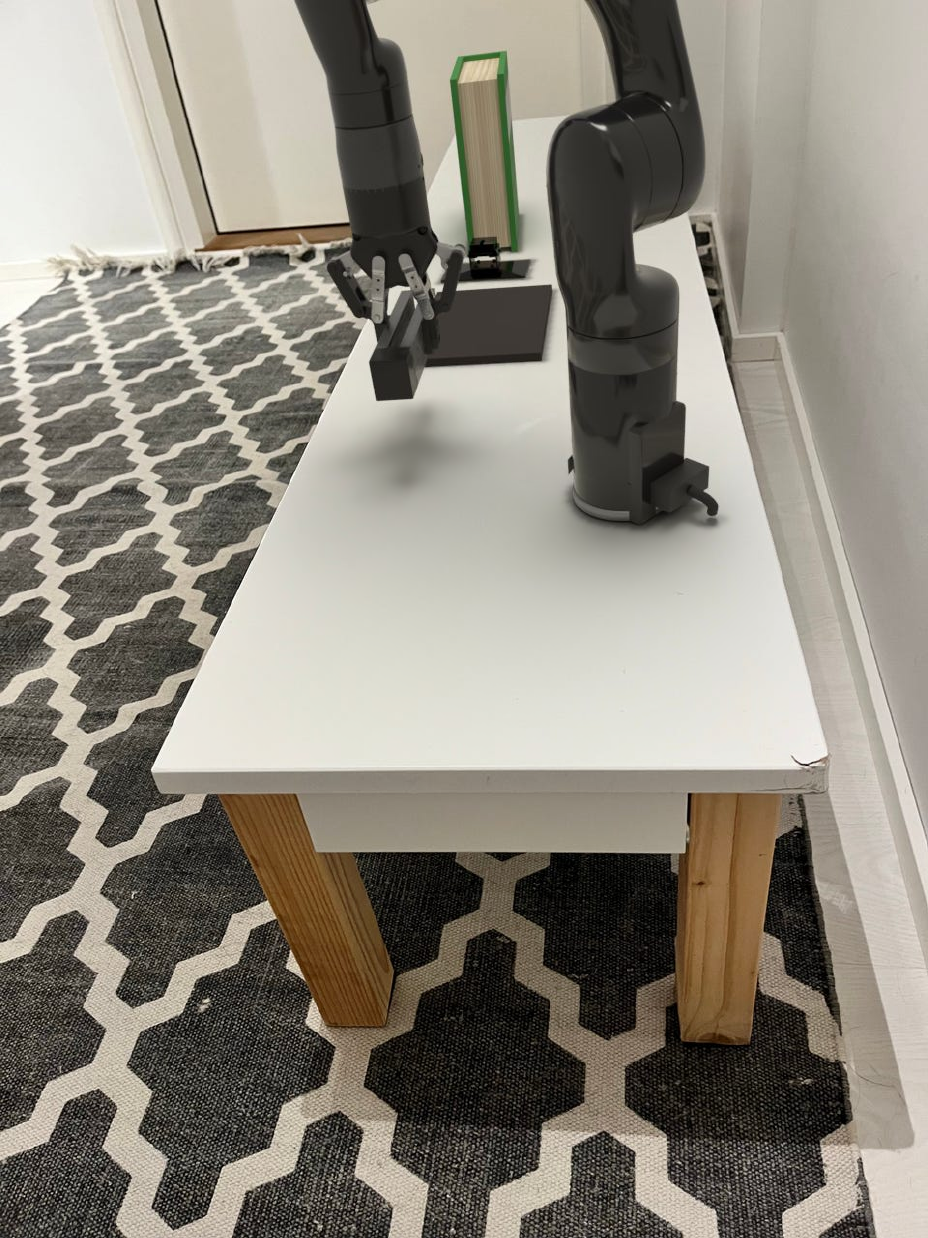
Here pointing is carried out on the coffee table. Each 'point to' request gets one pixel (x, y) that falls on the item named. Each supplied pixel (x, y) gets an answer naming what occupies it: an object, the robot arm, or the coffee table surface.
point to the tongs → (399, 352)
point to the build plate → (490, 263)
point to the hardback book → (486, 147)
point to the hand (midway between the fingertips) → (411, 352)
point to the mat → (493, 326)
